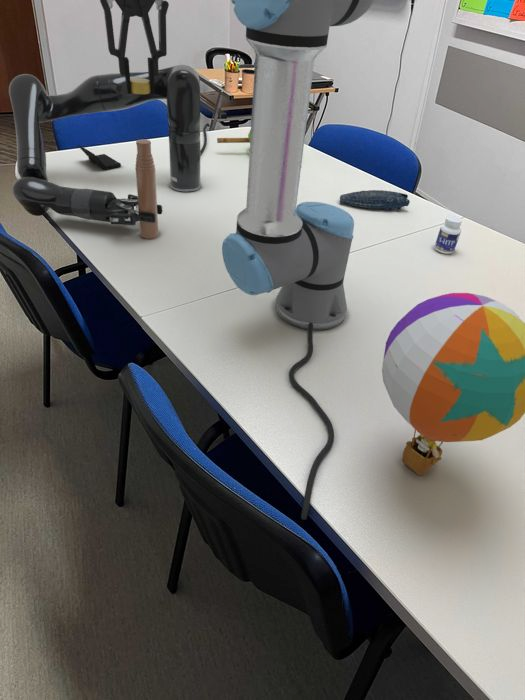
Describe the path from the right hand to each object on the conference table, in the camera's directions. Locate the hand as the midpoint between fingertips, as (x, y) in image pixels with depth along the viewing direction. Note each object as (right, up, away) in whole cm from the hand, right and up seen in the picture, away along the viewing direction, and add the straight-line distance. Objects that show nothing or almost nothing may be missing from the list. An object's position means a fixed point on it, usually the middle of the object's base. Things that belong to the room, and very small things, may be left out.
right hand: (140, 91), depth 113 cm
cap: (0, +2, -1) cm, 2 cm away
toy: (+51, -75, -32) cm, 96 cm away
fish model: (+61, -12, +47) cm, 78 cm away
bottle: (-3, -26, +21) cm, 34 cm away
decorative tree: (+25, +15, +76) cm, 82 cm away
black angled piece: (-27, +5, +57) cm, 63 cm away
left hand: (0, -22, +17) cm, 28 cm away
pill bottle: (+76, -29, +27) cm, 86 cm away
